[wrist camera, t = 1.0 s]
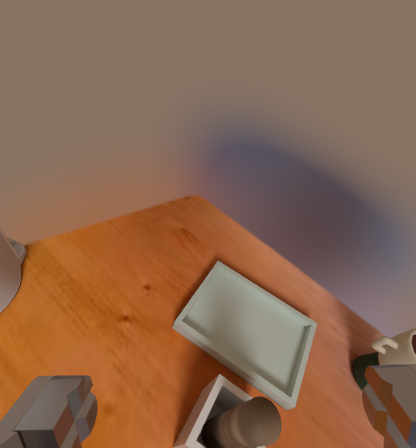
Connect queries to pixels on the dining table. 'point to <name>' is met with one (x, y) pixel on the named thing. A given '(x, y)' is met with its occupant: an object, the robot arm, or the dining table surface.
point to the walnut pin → (244, 426)
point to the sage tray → (249, 333)
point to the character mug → (387, 354)
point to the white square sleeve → (210, 410)
